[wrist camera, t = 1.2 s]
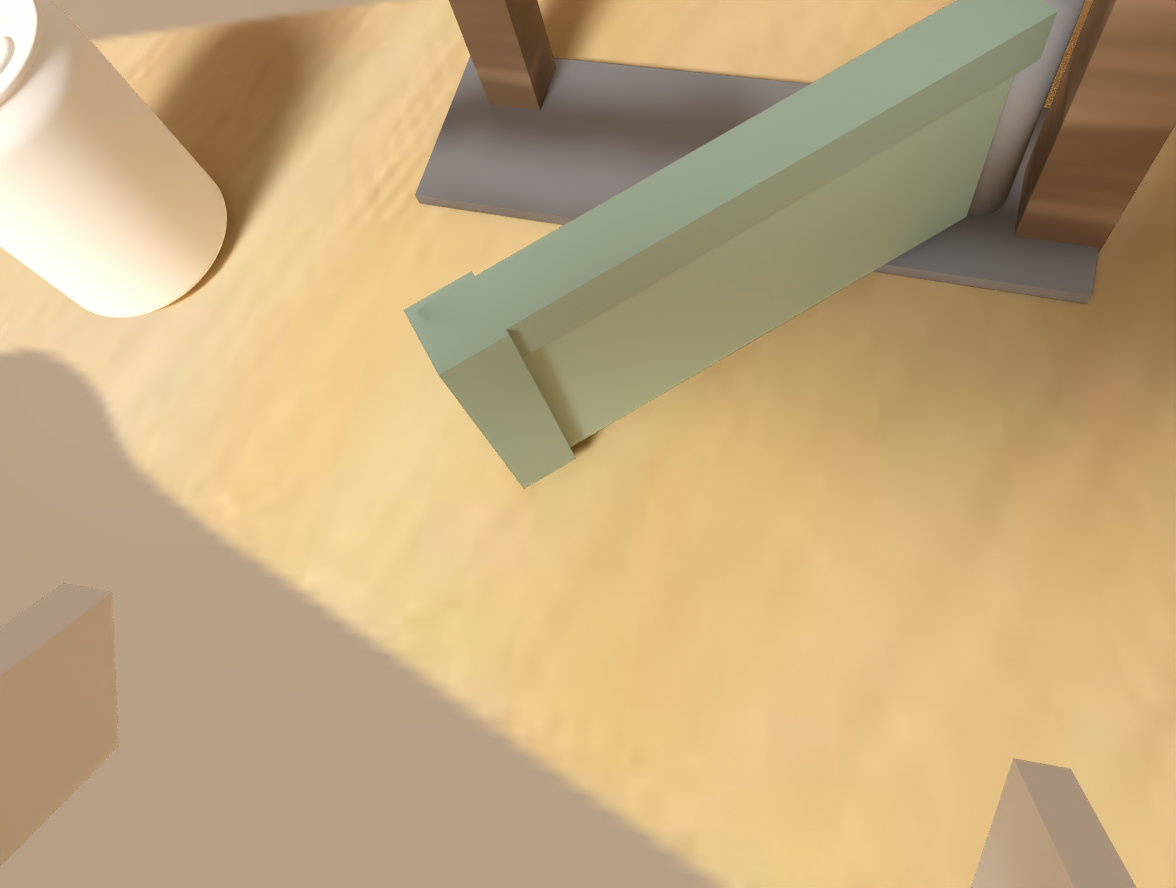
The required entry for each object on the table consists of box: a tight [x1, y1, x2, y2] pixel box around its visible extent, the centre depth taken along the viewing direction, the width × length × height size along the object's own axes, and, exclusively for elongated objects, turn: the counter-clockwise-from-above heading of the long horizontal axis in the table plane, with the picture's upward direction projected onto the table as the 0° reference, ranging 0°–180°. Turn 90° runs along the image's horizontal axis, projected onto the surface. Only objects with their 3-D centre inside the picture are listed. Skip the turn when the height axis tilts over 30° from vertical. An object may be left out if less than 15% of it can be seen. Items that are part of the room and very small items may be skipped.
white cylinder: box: [0, 0, 227, 317], centre depth 38 cm, size 8×8×12 cm
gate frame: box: [415, 0, 1176, 304], centre depth 32 cm, size 8×28×15 cm, turn 74°
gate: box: [404, 0, 1085, 489], centre depth 31 cm, size 2×22×10 cm, turn 119°
